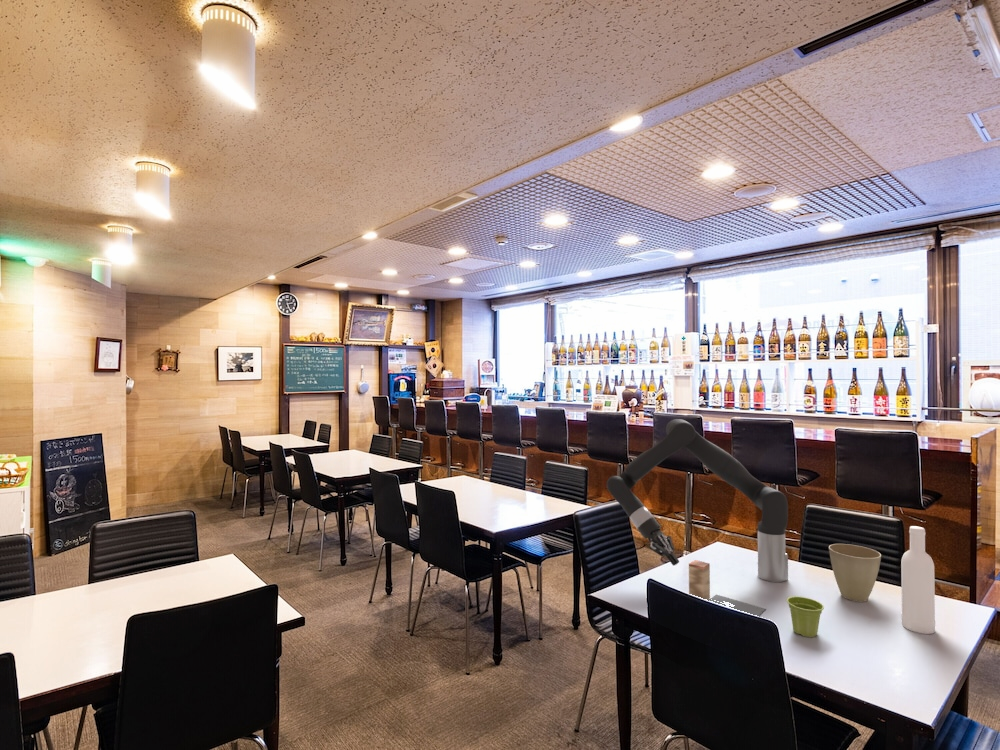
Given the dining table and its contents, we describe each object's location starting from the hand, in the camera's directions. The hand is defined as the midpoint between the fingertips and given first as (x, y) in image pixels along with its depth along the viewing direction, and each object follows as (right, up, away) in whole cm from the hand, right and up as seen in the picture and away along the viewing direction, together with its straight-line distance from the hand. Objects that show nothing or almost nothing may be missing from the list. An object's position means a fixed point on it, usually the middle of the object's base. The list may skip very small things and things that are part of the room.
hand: (676, 563), depth 185 cm
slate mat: (+14, -10, -14) cm, 22 cm away
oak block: (+6, -10, -6) cm, 13 cm away
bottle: (+63, -9, -27) cm, 69 cm away
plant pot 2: (+59, -10, -6) cm, 60 cm away
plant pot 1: (+28, -10, -30) cm, 42 cm away
